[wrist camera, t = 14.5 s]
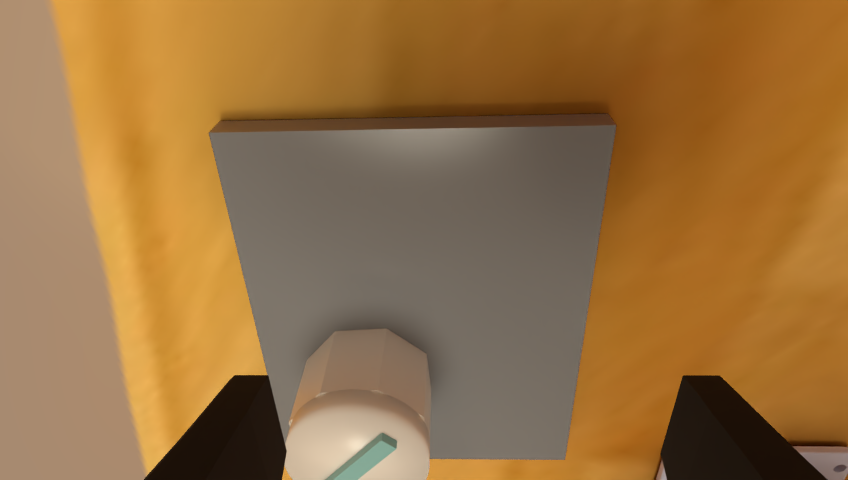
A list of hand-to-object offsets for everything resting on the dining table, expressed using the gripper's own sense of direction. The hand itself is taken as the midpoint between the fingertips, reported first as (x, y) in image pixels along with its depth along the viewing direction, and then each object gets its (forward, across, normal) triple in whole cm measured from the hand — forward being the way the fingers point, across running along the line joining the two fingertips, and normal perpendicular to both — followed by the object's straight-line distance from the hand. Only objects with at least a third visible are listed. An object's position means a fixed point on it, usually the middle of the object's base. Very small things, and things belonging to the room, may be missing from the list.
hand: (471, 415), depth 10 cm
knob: (+9, +4, +8) cm, 12 cm away
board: (+10, +2, +6) cm, 11 cm away
